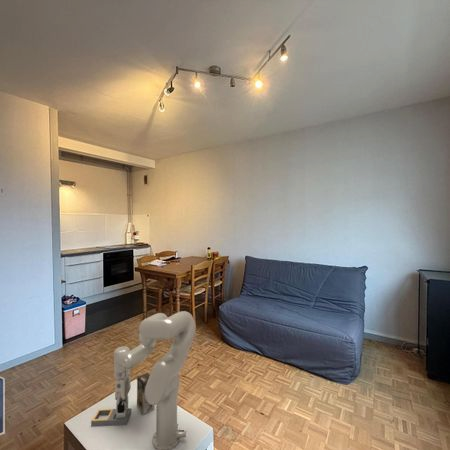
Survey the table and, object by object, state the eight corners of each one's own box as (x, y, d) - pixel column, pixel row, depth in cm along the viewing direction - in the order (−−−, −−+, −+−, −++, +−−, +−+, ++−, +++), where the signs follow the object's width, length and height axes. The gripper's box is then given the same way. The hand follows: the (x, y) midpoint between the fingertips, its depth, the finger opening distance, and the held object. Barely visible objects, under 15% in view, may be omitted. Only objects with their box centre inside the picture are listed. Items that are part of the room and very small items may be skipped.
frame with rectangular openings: (131, 412, 130) (131, 407, 130) (126, 424, 122) (126, 419, 122) (98, 414, 129) (98, 409, 129) (91, 426, 121) (91, 421, 121)
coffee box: (136, 406, 135) (136, 376, 135) (147, 400, 139) (147, 372, 140) (143, 415, 128) (143, 384, 129) (154, 409, 133) (155, 379, 133)
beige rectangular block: (127, 411, 127) (128, 395, 128) (125, 418, 123) (125, 401, 123) (119, 412, 127) (119, 396, 127) (115, 418, 123) (116, 401, 123)
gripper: (124, 381, 118) (124, 420, 117) (134, 363, 135) (135, 397, 134) (108, 383, 117) (108, 421, 117) (120, 364, 134) (121, 398, 133)
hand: (122, 408), depth 125 cm, fingers closed on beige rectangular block, 4 cm apart
